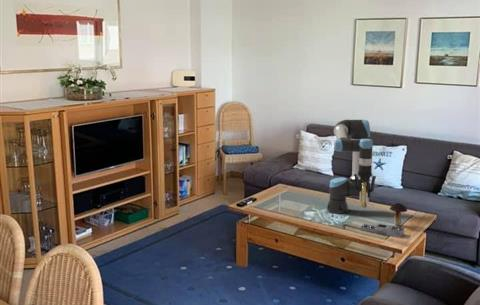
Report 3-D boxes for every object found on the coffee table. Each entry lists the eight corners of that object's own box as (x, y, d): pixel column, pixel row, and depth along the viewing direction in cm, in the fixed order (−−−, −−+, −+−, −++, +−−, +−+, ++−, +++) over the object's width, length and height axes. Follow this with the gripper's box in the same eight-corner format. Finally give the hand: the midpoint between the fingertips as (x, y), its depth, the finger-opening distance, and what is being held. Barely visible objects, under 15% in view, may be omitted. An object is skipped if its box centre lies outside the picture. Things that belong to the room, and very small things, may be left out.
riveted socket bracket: (360, 230, 313) (360, 223, 312) (364, 226, 319) (364, 220, 318) (400, 237, 300) (401, 230, 299) (404, 234, 306) (404, 227, 305)
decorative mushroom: (386, 222, 326) (387, 201, 323) (402, 222, 327) (403, 200, 324) (392, 228, 315) (393, 206, 312) (409, 228, 316) (410, 205, 313)
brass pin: (359, 207, 304) (360, 183, 301) (361, 205, 307) (362, 182, 304) (365, 208, 301) (366, 184, 298) (368, 206, 305) (369, 183, 302)
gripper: (350, 164, 300) (348, 201, 305) (376, 167, 291) (375, 205, 296) (354, 161, 306) (353, 198, 311) (380, 165, 297) (379, 202, 302)
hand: (363, 201), depth 304 cm, fingers closed on brass pin, 3 cm apart
